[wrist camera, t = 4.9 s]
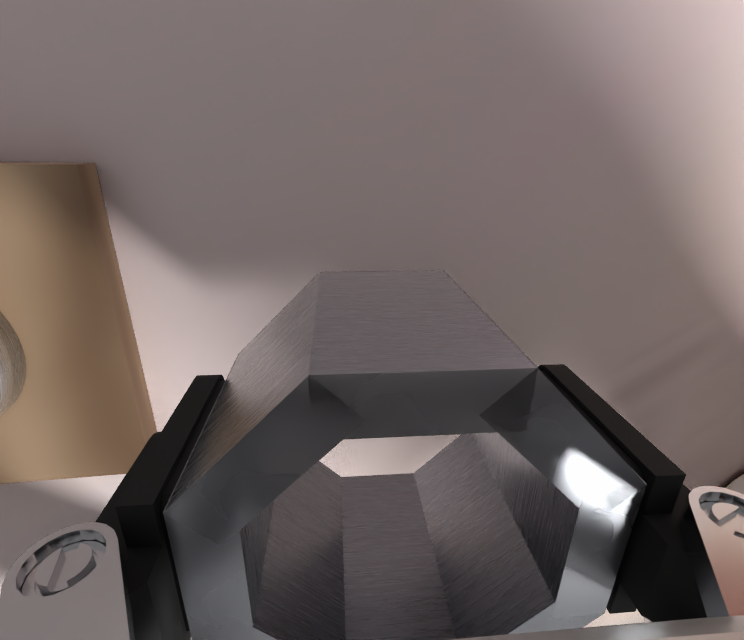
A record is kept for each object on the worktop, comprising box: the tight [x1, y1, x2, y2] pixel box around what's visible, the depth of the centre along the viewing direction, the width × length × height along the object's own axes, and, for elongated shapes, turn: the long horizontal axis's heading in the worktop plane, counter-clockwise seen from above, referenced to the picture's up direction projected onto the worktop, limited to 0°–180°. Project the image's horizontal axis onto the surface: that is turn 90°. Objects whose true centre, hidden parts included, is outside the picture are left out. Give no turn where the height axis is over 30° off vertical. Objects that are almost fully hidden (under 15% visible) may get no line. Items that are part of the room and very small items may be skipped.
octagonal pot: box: [163, 271, 647, 640], centre depth 9 cm, size 7×7×5 cm
